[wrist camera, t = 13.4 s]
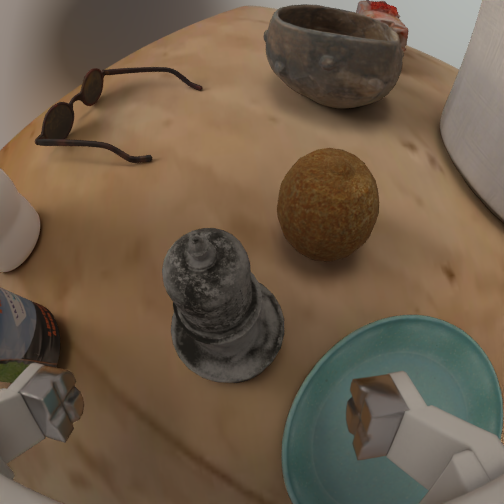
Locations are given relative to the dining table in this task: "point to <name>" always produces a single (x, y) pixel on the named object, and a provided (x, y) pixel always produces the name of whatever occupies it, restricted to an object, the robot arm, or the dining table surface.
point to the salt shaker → (220, 308)
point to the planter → (480, 110)
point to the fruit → (328, 204)
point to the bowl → (333, 54)
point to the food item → (384, 17)
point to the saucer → (338, 393)
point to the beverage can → (25, 336)
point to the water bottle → (15, 226)
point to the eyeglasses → (63, 115)
